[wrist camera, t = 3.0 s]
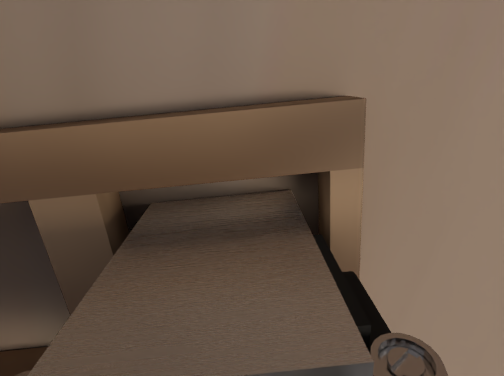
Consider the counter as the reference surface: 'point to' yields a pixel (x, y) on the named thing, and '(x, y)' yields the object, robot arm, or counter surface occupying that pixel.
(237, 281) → the steel plug
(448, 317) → the counter surface
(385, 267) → the counter surface
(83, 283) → the rail
